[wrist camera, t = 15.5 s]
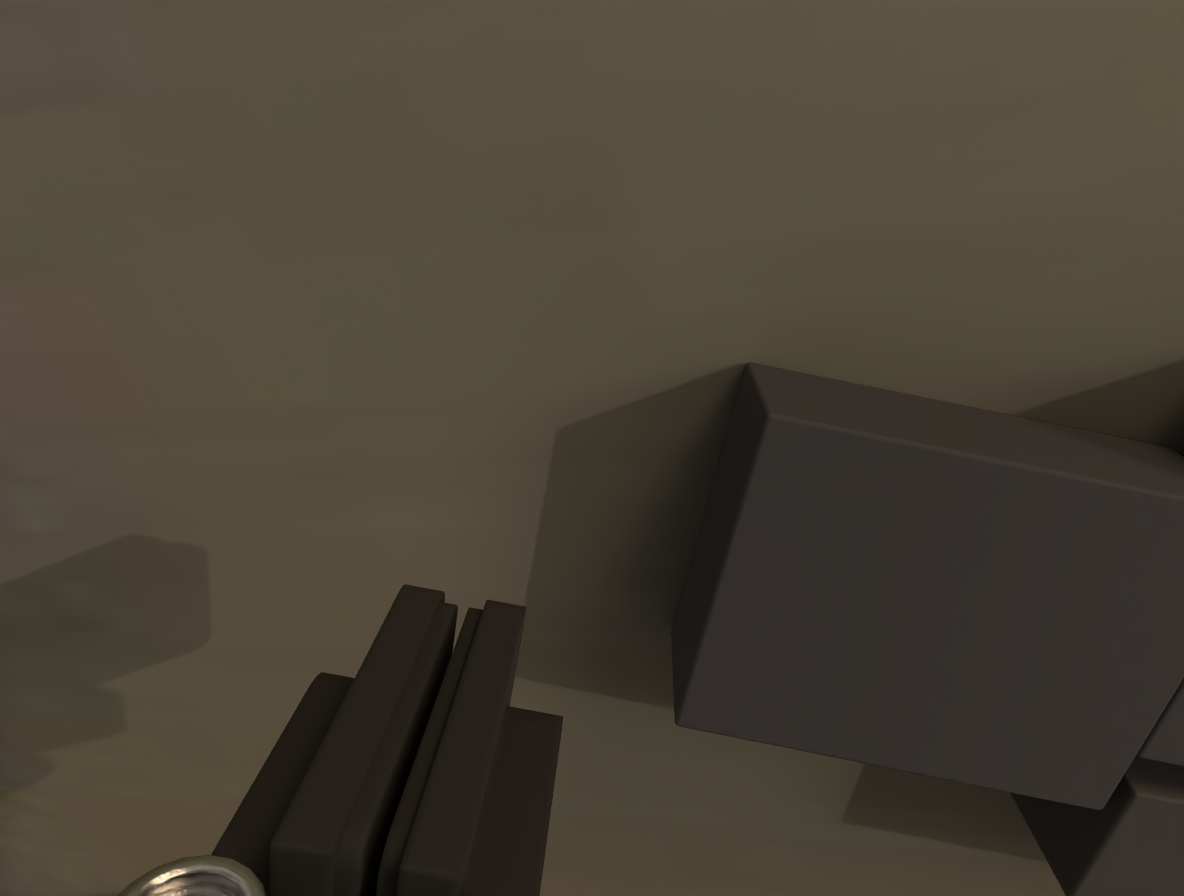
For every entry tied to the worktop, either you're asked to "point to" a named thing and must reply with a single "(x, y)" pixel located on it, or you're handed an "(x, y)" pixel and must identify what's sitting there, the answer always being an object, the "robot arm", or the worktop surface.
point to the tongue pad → (936, 590)
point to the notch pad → (1117, 835)
